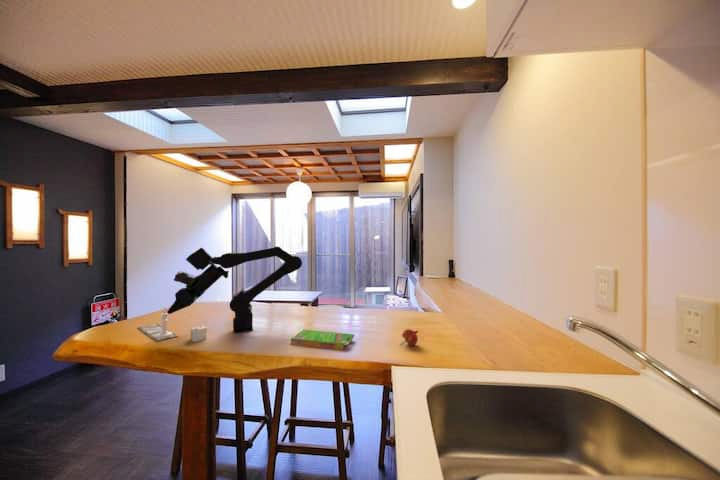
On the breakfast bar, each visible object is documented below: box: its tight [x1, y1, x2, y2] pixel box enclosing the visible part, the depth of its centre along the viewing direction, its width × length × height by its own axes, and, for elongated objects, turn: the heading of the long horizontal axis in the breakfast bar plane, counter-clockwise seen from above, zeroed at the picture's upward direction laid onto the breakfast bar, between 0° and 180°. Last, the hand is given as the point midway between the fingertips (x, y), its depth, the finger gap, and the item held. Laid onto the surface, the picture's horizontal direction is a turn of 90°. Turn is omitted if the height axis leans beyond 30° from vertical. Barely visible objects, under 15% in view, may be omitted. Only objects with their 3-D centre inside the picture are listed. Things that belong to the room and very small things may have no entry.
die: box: [189, 325, 208, 343], centre depth 93 cm, size 4×4×4 cm
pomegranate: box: [400, 328, 419, 347], centre depth 90 cm, size 6×6×8 cm
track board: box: [137, 323, 179, 343], centre depth 100 cm, size 23×6×1 cm, turn 53°
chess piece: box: [156, 308, 173, 339], centre depth 95 cm, size 5×5×10 cm
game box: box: [290, 328, 356, 351], centre depth 92 cm, size 3×10×20 cm
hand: (172, 309), depth 96 cm, fingers open, 9 cm apart
